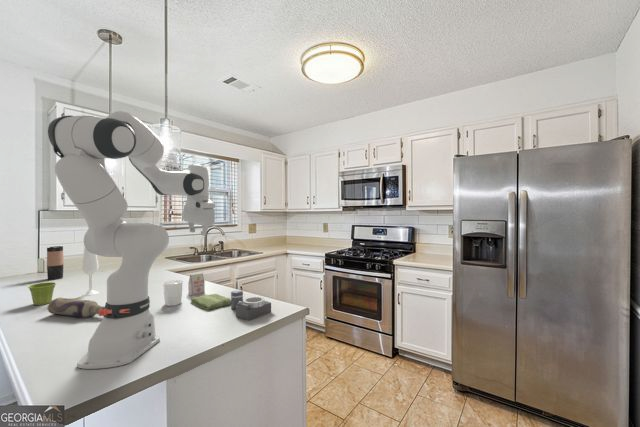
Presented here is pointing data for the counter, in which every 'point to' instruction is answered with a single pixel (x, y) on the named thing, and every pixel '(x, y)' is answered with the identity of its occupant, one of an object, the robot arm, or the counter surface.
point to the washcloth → (210, 301)
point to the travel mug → (55, 262)
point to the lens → (236, 298)
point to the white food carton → (196, 284)
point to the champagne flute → (90, 269)
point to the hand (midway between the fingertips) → (197, 233)
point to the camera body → (252, 308)
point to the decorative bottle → (74, 307)
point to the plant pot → (42, 292)
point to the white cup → (172, 292)
